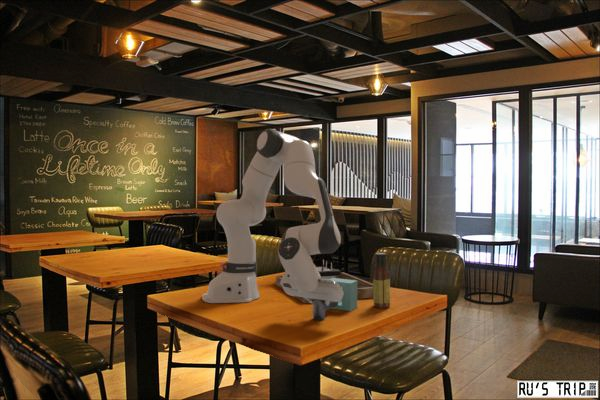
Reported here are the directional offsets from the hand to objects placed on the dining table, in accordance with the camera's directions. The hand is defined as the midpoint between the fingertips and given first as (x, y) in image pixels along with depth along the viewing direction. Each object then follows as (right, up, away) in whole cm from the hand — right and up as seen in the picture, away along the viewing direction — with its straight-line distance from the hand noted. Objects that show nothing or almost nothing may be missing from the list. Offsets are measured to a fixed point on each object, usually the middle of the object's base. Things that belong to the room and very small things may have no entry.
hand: (319, 302), depth 161 cm
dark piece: (+2, -5, +5) cm, 7 cm away
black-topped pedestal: (+3, -5, +41) cm, 41 cm away
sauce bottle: (+24, -5, +18) cm, 30 cm away
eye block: (+8, -5, +15) cm, 18 cm away
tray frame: (+4, -4, +44) cm, 44 cm away
